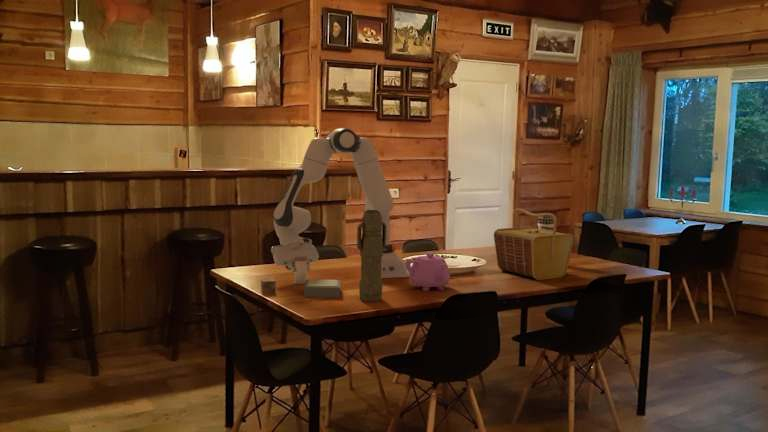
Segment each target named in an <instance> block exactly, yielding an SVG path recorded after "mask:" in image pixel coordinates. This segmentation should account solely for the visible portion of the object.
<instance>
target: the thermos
mask: <svg viewBox="0 0 768 432" xmlns="http://www.w3.org/2000/svg"><path fill="white" fill-rule="evenodd" d="M361 219H362V222H361V223H359V224H358V226H357V228H356V229H357V231H356V234H357V235H356V238H357V239H356V240H357V241H356V242H357V243H356V247H357V249H358V250H359V251H360V252H359V253H360V259H361V260H360V262H361V263H360V264H361V265H360V267H361V268H360V281H359V285H358V287H359V289H358V290H359V291H358V292H359V301H361V302H365V303H378V302H380V301H381V302H382V299H383V298H382V295H383V281H382V278H381V258H382V256H383V250H384V248H386V224H385V223H384V222H382V217H381V214H380V212H379V211H377V210H367V211H365V210H364V212H363V216H362V218H361ZM382 226H383V227H382ZM381 231H382V234H381Z"/></svg>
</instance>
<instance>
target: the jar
mask: <svg viewBox="0 0 768 432" xmlns="http://www.w3.org/2000/svg"><path fill="white" fill-rule="evenodd" d="M294 267H296V272H294V284H297V285H305V283H306V280H308V271H307V257H295V266H294Z"/></svg>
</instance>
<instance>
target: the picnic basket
mask: <svg viewBox="0 0 768 432" xmlns="http://www.w3.org/2000/svg"><path fill="white" fill-rule="evenodd" d="M517 212H523V213H524V214H525V215H526V216H529V217H534V218H538V217H543V216H545V215H549V216H552V217H553V218H554V221H553V224H554V226H553V231H547V230H542V229H536V228H537V227H536V228H535V227H532V226H520V227H519V226H518V227H517V225H516V224H517V222H516V221H517V219H516V215H517V214H516V213H517ZM557 222H558V221H557V216H556V215H555V214H553V213H550V212H542V213H533V212H530V211H527V210H525V209H523V208H515V209H514V210H513V213H512V227H506V228H497V229H496V230H494V232H493V240H494V242H493V243H494V247H495V255H496V262H497V266H498V269H499V270H501V271H503V272H508V273H509V272H510V273H513V274H517V275H521V276H524V277H525V276H526V277H528V278H529V277H530V278H532V279H534V280H537V281H543V280H551V279H558V278H559V279H560V278H563V277H564V276H565V275H566V274H567V273H568V268H569V264H570V259H571V255H572V249H573V245H574V240H575V237H574V235H573V234H571V233H562V232H557V231H556V230H557Z"/></svg>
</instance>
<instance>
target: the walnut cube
mask: <svg viewBox="0 0 768 432" xmlns="http://www.w3.org/2000/svg"><path fill="white" fill-rule="evenodd" d="M276 285H277V283H276V279H275V278H263V279H262V278H261V280H260V288H261V289H260V292H261V293H262V294H263V295H264V293H267V294H276V292H277V291H276V290H277V289H276Z"/></svg>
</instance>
